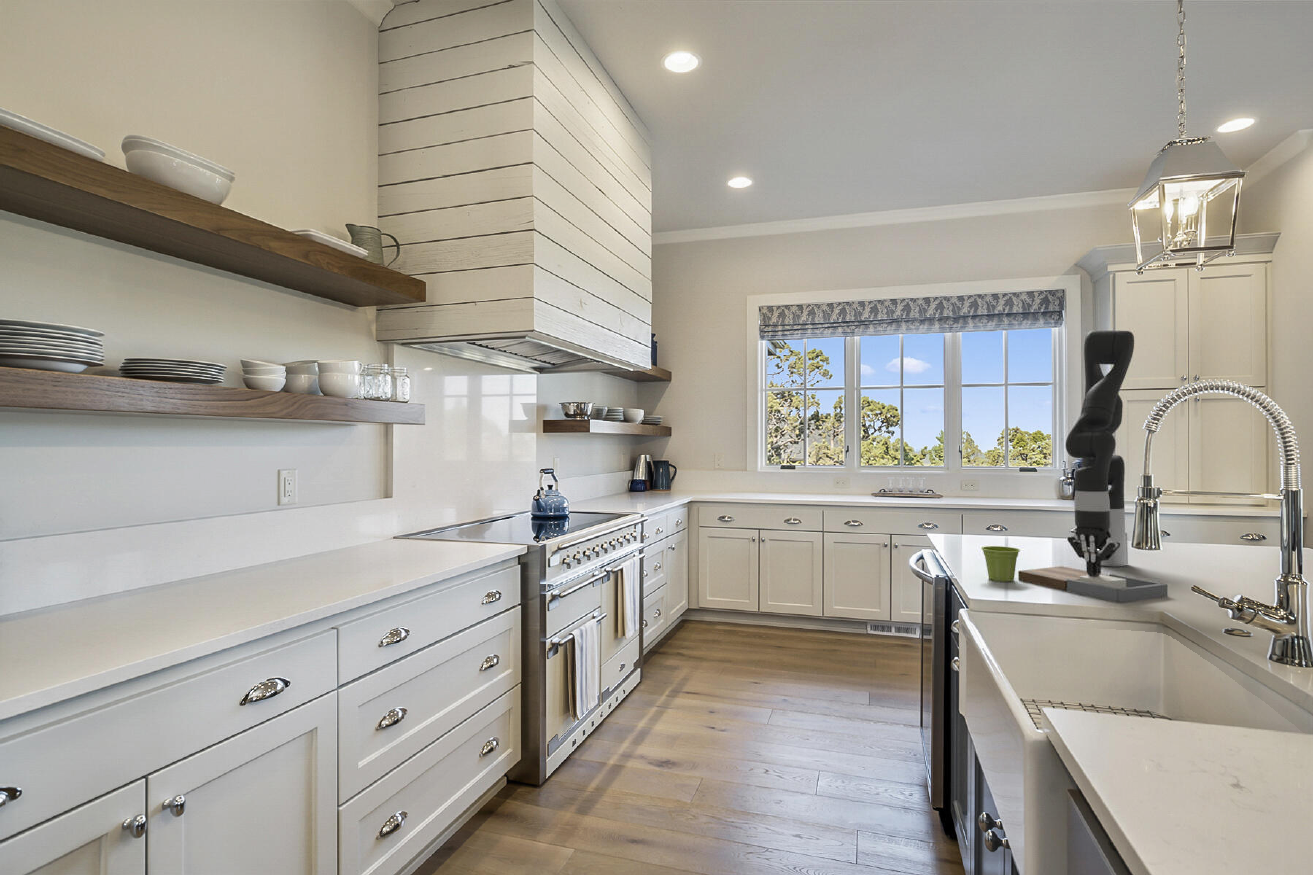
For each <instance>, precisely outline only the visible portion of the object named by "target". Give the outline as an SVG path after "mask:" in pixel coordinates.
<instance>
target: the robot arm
mask: <svg viewBox="0 0 1313 875" xmlns="http://www.w3.org/2000/svg"><path fill="white" fill-rule="evenodd" d="M1134 350H1135V336H1134V333H1133V332H1132V331H1129V330H1091V331H1090V332H1088V333H1087V335H1086V336H1085V339H1084V345H1083V360H1084V377H1085V379H1084V380H1085V387H1084V388H1085V390H1084V397H1083V398H1084V399H1083V402H1082V406H1081V411H1080V416H1079V417H1078V419H1077V420H1076V423H1074V426H1073V427H1072V428H1071V430H1070V431H1069V432H1068V435H1067V437H1066V440H1065V449H1066V453H1067V454H1068V455H1069V456H1070V457H1072V458H1074V459H1081V463H1080V464H1081V467H1079V468H1078V469H1076V470H1075V471H1074V484H1075V488H1074V490H1075V491H1074V525H1075V527H1076V529H1075V531H1074V533H1075V534H1073V535H1072V536H1068V537H1067V539H1066V540H1067V542H1068V543H1069V545H1070V546H1071V548H1072V549H1073V550H1074V552H1075V553H1076V555H1077V556H1078V558H1080V559H1081V558H1082V559H1084V561H1085V562H1086V563H1085V564H1086V568H1085V569H1086V571H1087V573H1088V575H1089V576H1092V577H1099V575H1100V574H1102V566H1104V567H1126V566H1127V565H1129V555H1128V554H1129V553H1128V549H1129V548H1128V533H1127V532H1126V517H1125V516H1126V515H1125V472H1126V471H1125V461H1124V458H1123V457H1122V456H1121V455H1119V454H1117V455H1116V454H1114V453H1115V450H1116V444H1117V443H1116V438H1115V437H1114V434H1115V432H1117V431H1118V429H1119V427H1120V426H1121V424H1122V423H1123V422H1122V420H1123V409H1124V408H1123V406H1124V404H1123V400H1122V398H1121V396H1120V394H1119V392H1120V390H1121V387H1122V385H1123V383H1124V380H1125V378H1126V376H1127V375H1126V374H1127V371H1128V370H1129V366H1130V364H1131V361H1132V358H1133V355H1134ZM1101 365H1113V366H1112V368H1111V369H1110V371H1109V372H1108V373H1106V375H1104V374H1103V370H1102V369H1101V368H1102V367H1101ZM1109 486H1110V488H1109Z"/></svg>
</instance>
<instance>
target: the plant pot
mask: <svg viewBox="0 0 1313 875" xmlns="http://www.w3.org/2000/svg"><path fill="white" fill-rule="evenodd" d="M981 550H982V551H983V553H982V554H983V555H984V557H985V558H984V559H985V564H986V568H987V576H988V579H989V580H993V581H994V582H1000V583H1001V582H1002V583H1006V582H1007V583H1008V581H1009V582H1014V581H1015V574H1016V566H1017V558H1018V557H1019V552H1020V551H1021V549H1019V548H1017V547H1011V546H1001V545H999V546H998V545H990V546H989V545H987V546H982V547H981Z"/></svg>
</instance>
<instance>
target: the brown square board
mask: <svg viewBox="0 0 1313 875" xmlns="http://www.w3.org/2000/svg"><path fill="white" fill-rule="evenodd" d="M1017 574H1018V575H1017V576H1018V577H1017V578H1018V581H1020V582H1021V581H1022V582H1027V583H1030V584H1034V585H1039V586H1044V587H1048V588H1051V589H1055V590H1061V591H1066V588H1067V579H1073V580H1078V581H1079V576H1087V575H1088V573H1087V570H1085V569H1077V568H1072V567H1067V566H1061V565H1060V566H1052V567H1042V568H1034V569H1033V568H1032V569H1025V570H1018V573H1017ZM1101 575H1106V576H1110V574H1104V573H1101ZM1066 592H1067V591H1066Z"/></svg>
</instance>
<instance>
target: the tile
mask: <svg viewBox="0 0 1313 875" xmlns="http://www.w3.org/2000/svg"><path fill="white" fill-rule="evenodd" d="M1101 574H1102V573H1101ZM1101 574H1100V575H1099V577H1092V576H1089V575H1087V576H1079V581H1083V582H1087V583H1092V584H1097V585H1102V586H1107V587H1112V588H1116V589H1121V588H1126V579H1122V578H1116V577H1111V576H1106V575H1107V574H1105V575H1101Z"/></svg>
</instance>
